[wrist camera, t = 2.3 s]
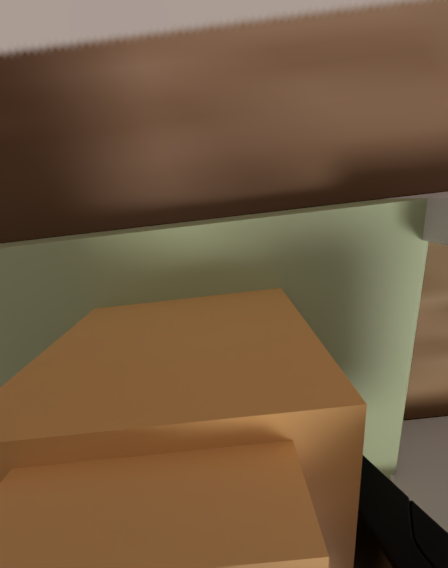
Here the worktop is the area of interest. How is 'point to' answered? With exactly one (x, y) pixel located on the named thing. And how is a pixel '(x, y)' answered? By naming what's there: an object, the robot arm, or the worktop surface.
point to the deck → (260, 276)
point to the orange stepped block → (182, 442)
